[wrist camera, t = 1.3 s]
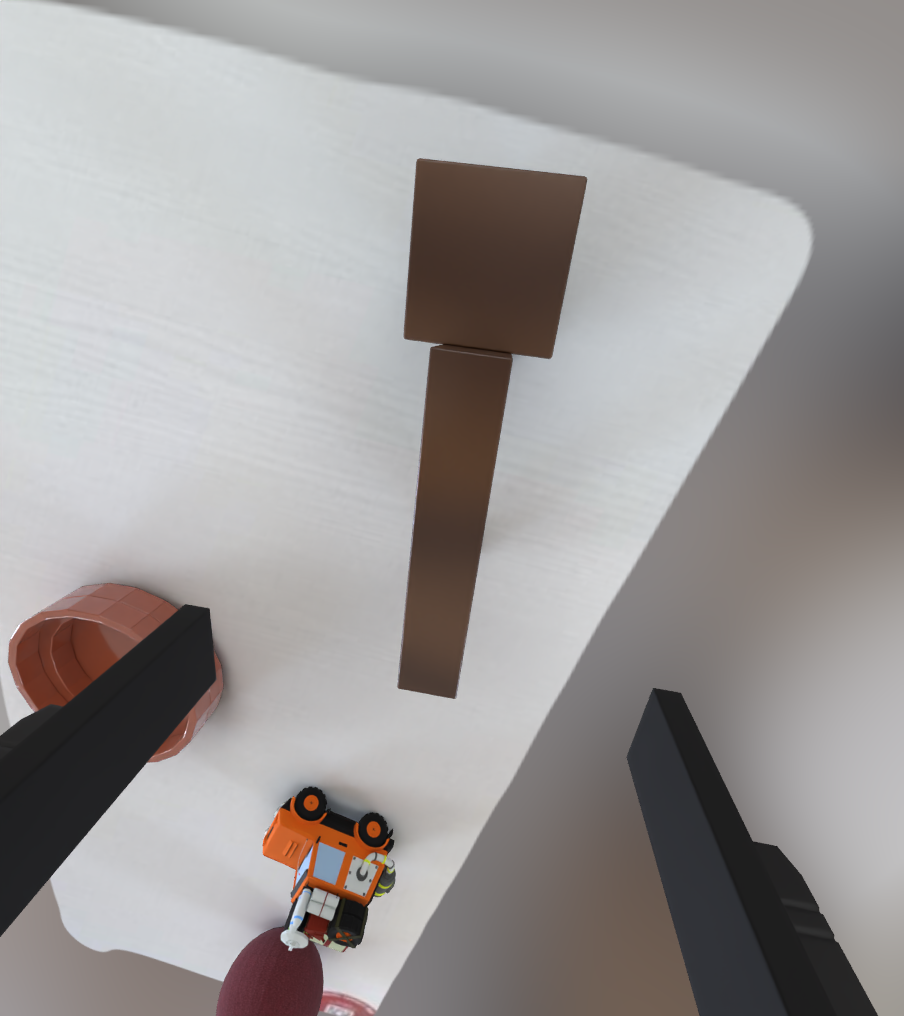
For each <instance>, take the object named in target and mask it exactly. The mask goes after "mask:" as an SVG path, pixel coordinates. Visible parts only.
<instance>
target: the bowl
mask: <svg viewBox="0 0 904 1016" xmlns="http://www.w3.org/2000/svg"><path fill="white" fill-rule="evenodd" d="M177 611H178V609H176V608H175V607H174V606H172V605H171V604H170V603H168V602H167V601H165V600H163V599H161V598H159V597H156V596H154V595H152V594H150V593H148V592H145V591H143V590H141V589H138V588H135V587H130V586H124V585H118V584H113V583H105V584H97V585H89V586H82V587H81V588H79V589H77V590H75V591H74V592H72V593H70V594H68V595H67V596H65V597H63V598H61V599H60V600H58V601H56V602H55V603H53V604H51V605H50V606H48V607H46V608H45V609H43V610H41V611H40V612H38V613H37V614H35V615H33V616H32V617H30V618H28V619H27V620H25V621H23V622H22V623H20V625H19V626H18V628H17V630H16V631H15V633H14V635H13V636H12V638H11V639H10V641H9V655H8V663H9V667H10V670H11V673H12V675H13V678H14V681H15V684H16V686H17V689H18V690H19V691H20V693H21V694H22V696H23V697H24V699H25V700H26V702H27V703H28V705H29V706H30V708H31V709H32V710H33V711H34V712H36V711H38V710H40V709H42V708H44V707H46V706H48V705H50V704H53V705H58V706H65V705H66V704H67V703H68V702H69V701H70V700H72V699H73V698H74V697H75V696H76V695H78V694H79V693H80V692H81V691H82V690H84V689H85V688H86V687H87V686H88V685H90V684H91V683H92V682H93V681H94V680H96V679H97V678H98V677H99V676H100V675H101V674H103V673H104V672H105V671H106V670H107V669H109V668H110V667H111V666H112V665H113V664H115V663H116V662H117V661H118V660H119V659H121V658H122V657H123V656H124V655H125V654H126V653H128V652H129V651H130V650H131V649H132V648H134V647H135V646H136V645H137V644H138V643H140V642H141V641H142V640H143V639H144V638H146V637H147V636H148V635H149V634H150V633H152V632H153V631H154V630H155V629H156V628H157V627H159V626H160V625H161V624H162V623H163V622H165V621H166V620H167V619H168V618H169V617H171V616H172V615H173V614H174V613H175V612H177ZM214 658H215V668H216V677H217V680H216V681H215V682H214V683H213V684H212V686H211V687H210V688H209V689H208V690H207V692H206V693H205V694H204V695H203V696H202V698H201V699H200V700H199V701H198V702H197V704H196V705H195V706H194V707H193V708H192V709H191V711H190V712H189V713H188V714H187V715H186V717H185V718H184V719H183V720H182V721H181V723H180V724H179V725H178V726H177V727H176V728H175V730H174V731H173V732H172V733H171V734H170V736H169V737H168V738H167V739H166V740H165V742H164V743H163V744H162V745H161V746H160V748H159V749H158V750H157V751H156V752H155V753H154V755H153V756H152V757H151V758H150V759H149V761H148V762H159V761H161V760H164V759H167V758H169V757H172V756H175V755H177V754H178V753H179V752H180V751H181V750H182V749H183V748H184V747H185V746H186V745H187V744H188V743H189V742H190V741H191V740H192V739H193V737H194V736H195V735H196V734H197V732H198V731H199V730H200V728H201V727H202V726H203V725H204V723H205V722H206V721H207V719H208V718H209V717H210V715H211V714H212V713H213V712H214V710H215V709H216V708H217V706H218V704H219V701H220V698H221V695H222V692H223V687H224V686H223V676H222V667H221V664H220V661H219V659H218V657H217V655H216V653H215V651H214Z"/></svg>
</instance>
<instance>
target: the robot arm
mask: <svg viewBox="0 0 904 1016" xmlns="http://www.w3.org/2000/svg"><path fill="white" fill-rule="evenodd" d="M216 680H217V677H216V668H215V658H214V648H213V638H212V628H211V619H210V609H209V608H204V607H198V606H193V605H187V604H185V605H184V606H182V607H181V608H180V609H179V610H178V611H177V612H175V613H174V614H173V615H172V616H171V617H169V618H168V619H167V620H166V621H165V622H163V623H162V624H161V625H160V626H159V627H157V628H156V629H155V630H154V631H153V632H152V633H150V634H149V635H148V636H147V637H146V638H144V639H143V640H142V641H141V642H140V643H138V644H137V645H136V646H135V647H134V648H132V649H131V650H130V651H129V652H128V653H126V654H125V655H124V656H123V657H122V658H121V659H119V660H118V661H117V662H116V663H115V664H113V665H112V666H111V667H110V668H109V669H107V670H106V671H105V672H104V673H103V674H101V675H100V676H99V677H98V678H97V679H96V680H94V681H93V682H92V683H91V684H90V685H88V686H87V687H86V688H85V689H84V690H82V691H81V692H80V693H79V694H78V695H76V696H75V697H74V698H73V699H72V700H70V701H69V702H68V703H67V704H66V705H65V706H58V705H53V704H50V705H48V706H46V707H44V708H42V709H40V710H38V711H36V712H35V713H33V714H31V715H29V716H27V717H25V718H23V719H21V720H20V721H19V722H17V723H16V724H15V725H13V726H12V727H11V728H10V729H8V730H7V731H6V732H5V733H3V734H2V735H1V736H0V937H1V935H2V934H3V933H4V932H5V931H6V929H7V928H8V927H9V926H10V925H11V924H12V922H13V921H14V920H15V919H16V918H17V916H18V915H19V914H20V913H21V912H22V910H23V909H24V908H25V907H26V906H27V905H28V903H29V902H30V901H31V900H32V899H33V897H34V896H35V895H36V894H37V892H38V891H39V890H40V889H41V888H42V886H44V884H45V883H46V882H47V881H48V880H49V878H50V877H51V876H52V875H53V874H54V872H55V871H56V870H57V869H58V868H59V866H60V865H61V864H62V863H63V862H64V861H65V859H66V858H67V857H68V856H69V855H70V853H71V852H72V851H73V850H74V849H75V847H76V846H77V845H78V844H79V843H80V841H81V840H82V839H83V838H84V837H85V836H86V834H87V833H88V832H89V831H90V830H91V828H92V827H93V826H94V825H95V824H96V822H97V821H98V820H99V819H100V818H101V817H102V815H103V814H104V813H105V812H106V811H107V809H108V808H109V807H110V806H111V805H112V803H113V802H114V801H115V800H116V799H117V797H118V796H119V795H120V794H121V793H122V792H123V790H124V789H125V788H126V787H127V786H128V784H129V783H130V782H131V781H132V780H133V778H134V777H135V776H136V775H137V774H138V772H139V771H140V770H141V769H142V768H143V767H144V765H145V764H146V763H147V762H148V761H149V759H150V758H151V757H152V756H153V755H154V753H155V752H156V751H157V750H158V749H159V748H160V746H161V745H162V744H163V743H164V742H165V740H166V739H167V738H168V737H169V736H170V734H171V733H172V732H173V731H174V730H175V728H176V727H177V726H178V725H179V724H180V723H181V721H182V720H183V719H184V718H185V717H186V715H187V714H188V713H189V712H190V711H191V709H192V708H193V707H194V706H195V705H196V704H197V702H198V701H199V700H200V699H201V698H202V696H203V695H204V694H205V693H206V692H207V690H208V689H209V688H210V687H211V686H212V684H213V683H214V682H215V681H216ZM627 760H628V764H629V767H630V771H631V774H632V778H633V782H634V785H635V788H636V792H637V796H638V799H639V803H640V806H641V810H642V813H643V817H644V821H645V824H646V828H647V831H648V835H649V838H650V842H651V845H652V849H653V852H654V856H655V859H656V863H657V867H658V870H659V873H660V877H661V881H662V884H663V888H664V891H665V895H666V898H667V902H668V905H669V909H670V913H671V916H672V920H673V923H674V927H675V930H676V934H677V937H678V941H679V944H680V948H681V952H682V955H683V959H684V962H685V966H686V969H687V973H688V976H689V980H690V983H691V987H692V991H693V994H694V998H695V1001H696V1005H697V1008H698V1012H699V1015H700V1016H878V1015H877V1013H876V1011H875V1009H874V1007H873V1006H872V1004H871V1002H870V1000H869V998H868V996H867V995H866V993H865V991H864V989H863V987H862V986H861V983H860V982H859V980H858V978H857V976H856V974H855V973H854V971H853V969H852V967H851V965H850V963H849V961H848V960H847V958H846V956H845V954H844V953H843V950H842V949H841V947H840V945H839V943H838V942H836V941H835V939H834V934H833V932H832V930H831V928H830V927H829V925H828V923H827V921H826V919H825V917H824V915H823V914H821V913H820V912H819V907H818V904H817V903H816V901H815V899H814V897H813V896H812V893H811V892H810V890H809V888H808V886H807V884H806V883H805V881H804V879H803V877H802V875H801V874H800V873H799V872H798V870H797V869H796V868H795V867H794V866H793V865H792V863H791V862H790V861H789V860H788V859H787V857H786V856H785V855H784V854H783V853H782V852H781V850H780V849H779V848H778V847H777V846H773V845H769V844H763V843H758V842H753V841H752V839H751V837H750V835H749V833H748V831H747V829H746V827H745V825H744V822H743V821H742V818H741V816H740V814H739V812H738V810H737V808H736V806H735V804H734V802H733V800H732V798H731V796H730V794H729V791H728V789H727V787H726V785H725V783H724V781H723V779H722V777H721V775H720V773H719V771H718V769H717V767H716V765H715V763H714V761H713V758H712V756H711V754H710V752H709V750H708V748H707V746H706V744H705V742H704V740H703V738H702V736H701V734H700V732H699V730H698V727H697V725H696V723H695V721H694V719H693V717H692V715H691V713H690V711H689V709H688V707H687V705H686V703H685V701H684V698H683V696H682V694H681V693H678V692H673V691H667V690H661V689H656V688H653V690H652V692H651V695H650V697H649V701H648V703H647V705H646V708H645V710H644V713H643V716H642V718H641V721H640V724H639V726H638V729H637V731H636V734H635V737H634V739H633V742H632V744H631V747H630V749H629V752H628V755H627Z"/></svg>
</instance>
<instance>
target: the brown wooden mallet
mask: <svg viewBox="0 0 904 1016" xmlns="http://www.w3.org/2000/svg"><path fill="white" fill-rule="evenodd" d="M586 184H587V178H586V177H585V176H576V175H566V174H557V173H548V172H539V171H530V170H521V169H512V168H503V167H494V166H485V165H476V164H466V163H457V162H448V161H439V160H430V159H421V158H419V159H417V162H416V175H415V188H414V202H413V215H412V229H411V242H410V256H409V269H408V282H407V296H406V309H405V323H404V339H407V340H414V341H421V342H429V343H436V344H443V345H439V346H434V347H431V348H430V357H429V367H428V377H427V387H426V398H425V408H424V418H423V428H422V439H421V449H420V459H419V469H418V480H417V490H416V500H415V511H414V521H413V531H412V541H411V552H410V562H409V572H408V582H407V593H406V603H405V613H404V624H403V634H402V644H401V654H400V665H399V675H398V685H397V687H398V688H399V689H404V690H410V691H415V692H420V693H426V694H431V695H436V696H442V697H447V698H452V699H455V698H456V696H457V690H458V684H459V678H460V672H461V666H462V660H463V654H464V648H465V642H466V636H467V630H468V624H469V618H470V612H471V606H472V600H473V594H474V589H475V583H476V577H477V571H478V565H479V559H480V553H481V547H482V541H483V535H484V529H485V523H486V517H487V511H488V505H489V499H490V493H491V487H492V481H493V475H494V469H495V463H496V457H497V451H498V445H499V439H500V433H501V427H502V421H503V415H504V409H505V403H506V397H507V391H508V385H509V379H510V373H511V367H512V361H513V359H512V354H517V355H524V356H531V357H539V358H546V359H550V358H551V357H552V355H553V349H554V344H555V339H556V334H557V329H558V324H559V319H560V314H561V309H562V304H563V299H564V294H565V289H566V284H567V279H568V274H569V269H570V264H571V259H572V254H573V249H574V244H575V239H576V234H577V229H578V224H579V219H580V214H581V209H582V204H583V199H584V194H585V189H586Z"/></svg>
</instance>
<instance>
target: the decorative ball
mask: <svg viewBox="0 0 904 1016" xmlns="http://www.w3.org/2000/svg"><path fill="white" fill-rule="evenodd" d="M283 930H284V927H279V928H273V929H271V930H269V931H266V932H264V933H262V934H260V935H259V936H258V937H256V938H255V939H254V940H252V941H251V942H250V943H249V944H248V945H247V946H246V947H245V948H244V949H243V950H242V951H241V953H240V954H239V955H238V957H237V958H236V960H235V961H234V962H233V964H232V966H231V968H230V970H229V972H228V974H227V975H226V977H225V980H224V982H223V985H222V988H221V991H220V995H219V999H218V1004H217V1010H216V1011H217V1012H216V1016H317V1014H318V1011H319V1008H320V1004H321V999H322V994H323V970H322V962H321V959H320V955H319V952H318V950H317V948H316V946H315V945H314V943H313V941H311V940H308V945H307V946H306V947H304V948H293V949H292V951H289V950H288V949H289V946H288V945H286V944H285V943H284V942H282V941H281V933H282V932H283Z"/></svg>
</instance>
